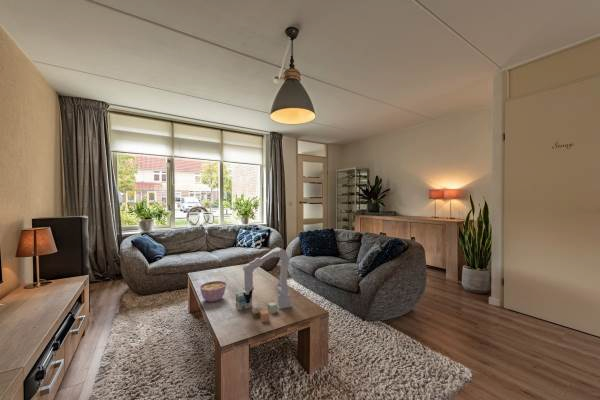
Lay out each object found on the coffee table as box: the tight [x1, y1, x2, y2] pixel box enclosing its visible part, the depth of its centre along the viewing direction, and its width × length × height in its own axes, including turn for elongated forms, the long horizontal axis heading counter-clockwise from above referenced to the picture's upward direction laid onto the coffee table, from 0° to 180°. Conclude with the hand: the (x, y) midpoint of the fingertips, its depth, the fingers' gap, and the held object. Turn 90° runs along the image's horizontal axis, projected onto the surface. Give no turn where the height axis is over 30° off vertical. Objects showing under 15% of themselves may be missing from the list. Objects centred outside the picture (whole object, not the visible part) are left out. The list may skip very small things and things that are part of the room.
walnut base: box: [251, 307, 263, 319], centre depth 167 cm, size 7×7×4 cm
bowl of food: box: [199, 280, 227, 303], centre depth 193 cm, size 20×20×12 cm
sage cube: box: [267, 301, 278, 315], centre depth 172 cm, size 5×5×6 cm
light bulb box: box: [235, 290, 253, 311], centre depth 180 cm, size 11×7×11 cm, turn 126°
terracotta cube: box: [259, 309, 270, 323], centre depth 161 cm, size 5×5×6 cm
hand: (248, 300), depth 168 cm, fingers open, 7 cm apart
